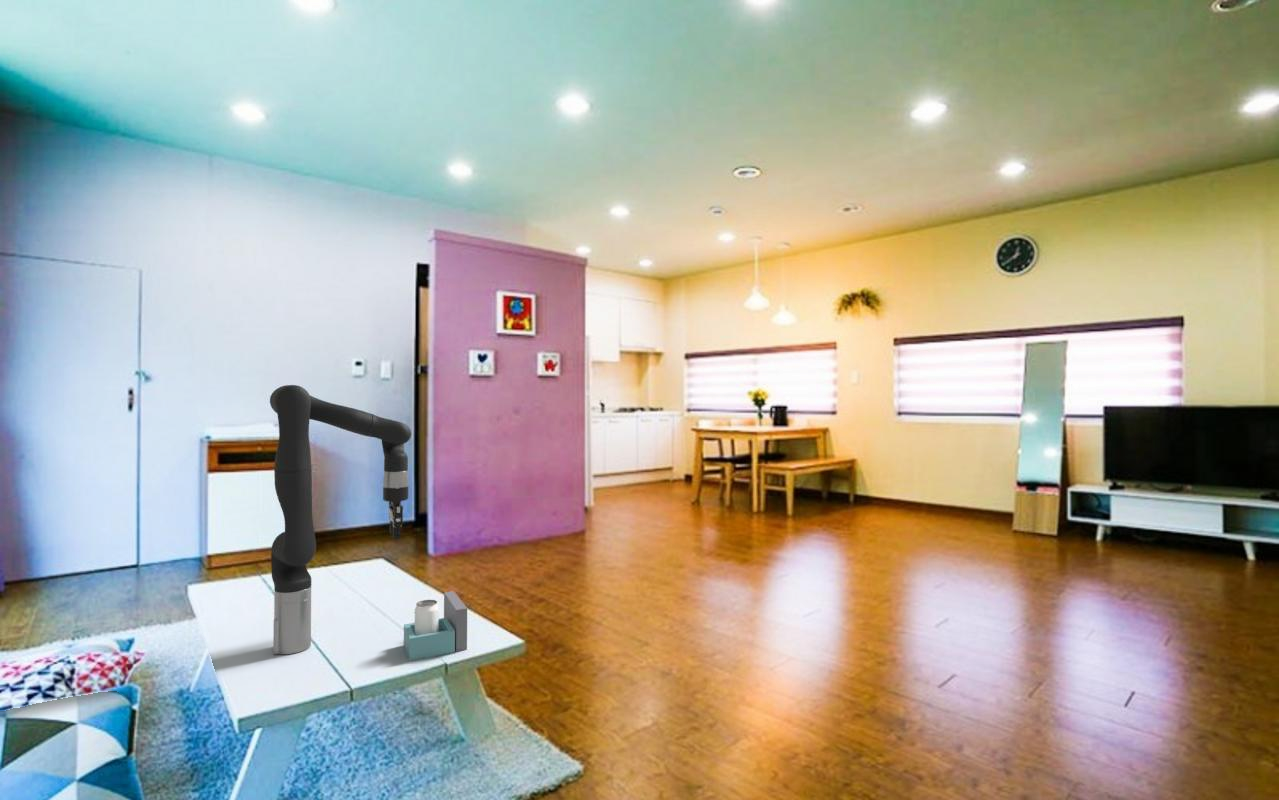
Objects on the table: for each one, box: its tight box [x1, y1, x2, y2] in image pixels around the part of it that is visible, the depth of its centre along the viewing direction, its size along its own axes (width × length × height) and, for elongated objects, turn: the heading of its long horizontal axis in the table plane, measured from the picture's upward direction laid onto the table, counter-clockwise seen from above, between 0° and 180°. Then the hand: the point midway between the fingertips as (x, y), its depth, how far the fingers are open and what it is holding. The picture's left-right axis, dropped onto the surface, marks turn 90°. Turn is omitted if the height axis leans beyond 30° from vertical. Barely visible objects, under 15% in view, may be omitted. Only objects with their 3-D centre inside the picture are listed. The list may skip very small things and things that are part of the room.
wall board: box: [443, 590, 468, 653], centre depth 181 cm, size 3×18×12 cm, turn 29°
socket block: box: [403, 617, 456, 662], centre depth 174 cm, size 12×12×6 cm
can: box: [414, 599, 440, 636], centre depth 174 cm, size 6×6×12 cm
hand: (395, 536), depth 193 cm, fingers open, 8 cm apart
